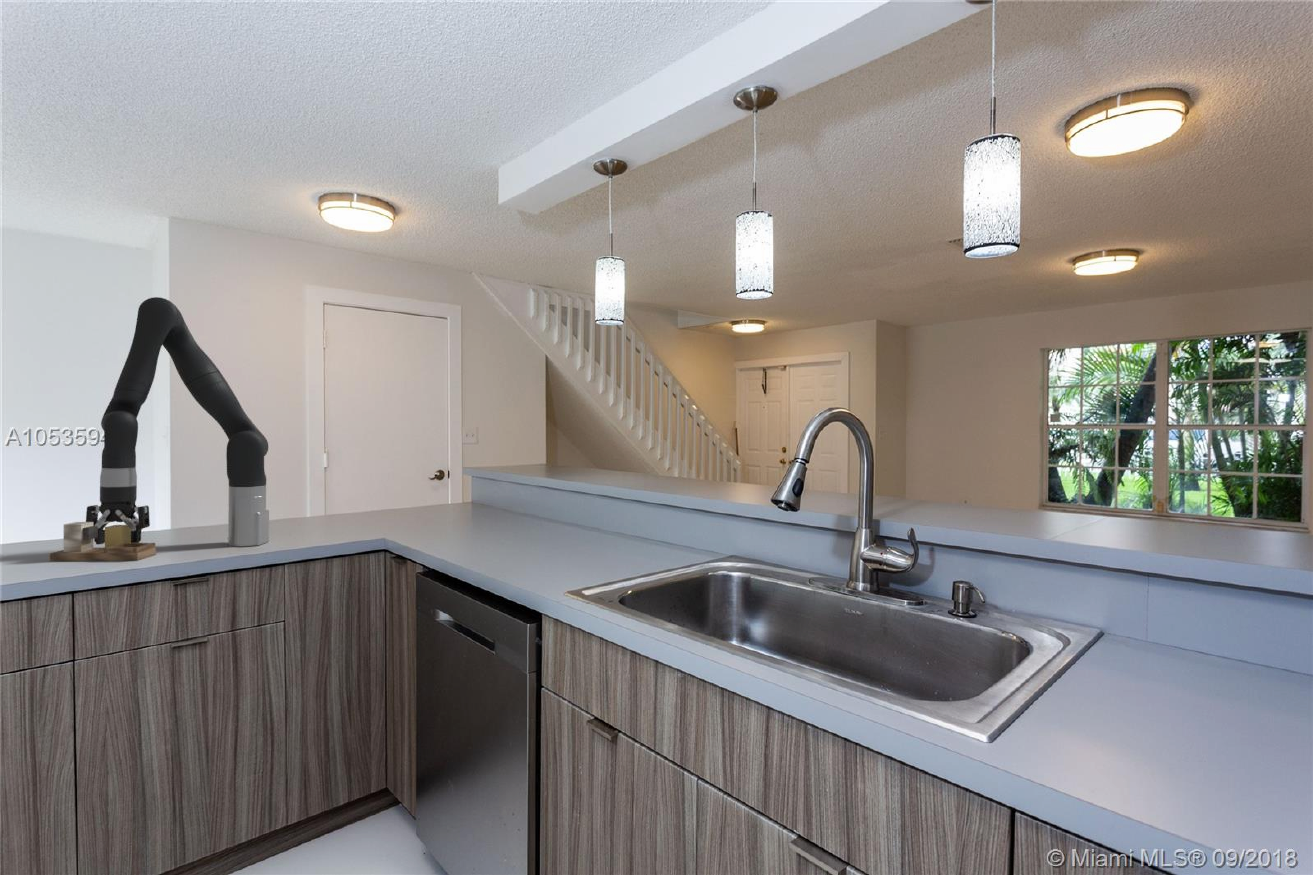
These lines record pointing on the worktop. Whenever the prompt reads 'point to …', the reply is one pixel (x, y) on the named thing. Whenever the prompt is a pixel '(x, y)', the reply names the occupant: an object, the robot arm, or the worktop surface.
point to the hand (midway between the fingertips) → (117, 544)
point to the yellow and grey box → (117, 535)
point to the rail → (81, 548)
